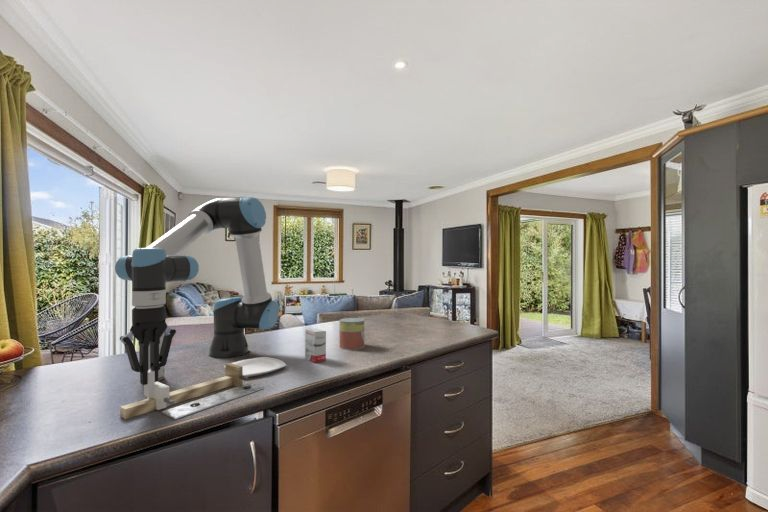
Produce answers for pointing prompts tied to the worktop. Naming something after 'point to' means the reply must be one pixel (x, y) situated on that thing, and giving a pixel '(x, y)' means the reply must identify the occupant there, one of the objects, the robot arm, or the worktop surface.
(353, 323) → the canned food
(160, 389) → the slider
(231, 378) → the beam
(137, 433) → the worktop surface
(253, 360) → the plate
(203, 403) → the hole plate
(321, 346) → the ink box
